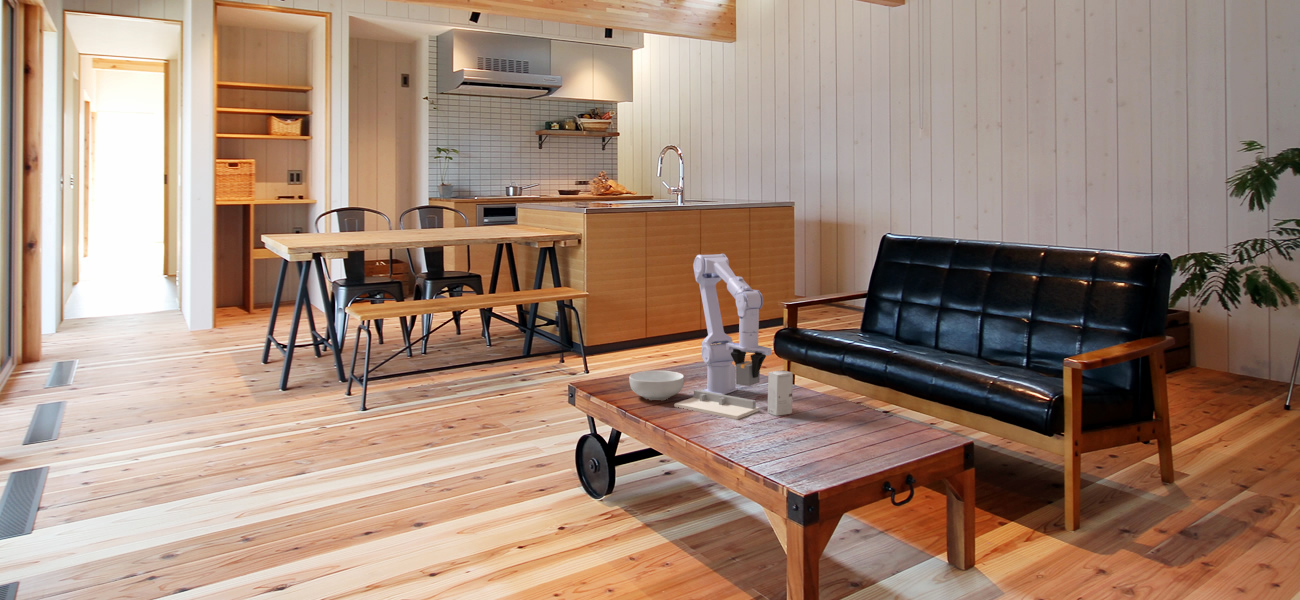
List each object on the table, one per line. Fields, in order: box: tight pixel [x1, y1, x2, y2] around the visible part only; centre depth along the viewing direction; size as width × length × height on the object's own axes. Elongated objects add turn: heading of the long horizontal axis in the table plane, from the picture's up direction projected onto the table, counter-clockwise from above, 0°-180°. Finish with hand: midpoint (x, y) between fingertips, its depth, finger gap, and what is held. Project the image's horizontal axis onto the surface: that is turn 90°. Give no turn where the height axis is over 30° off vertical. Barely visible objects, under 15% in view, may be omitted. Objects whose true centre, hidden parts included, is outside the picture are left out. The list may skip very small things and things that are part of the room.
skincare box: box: [767, 369, 794, 417], centre depth 245 cm, size 6×4×12 cm
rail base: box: [674, 389, 760, 420], centre depth 251 cm, size 12×22×3 cm, turn 52°
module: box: [735, 360, 761, 387], centre depth 254 cm, size 6×4×6 cm
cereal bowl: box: [628, 370, 685, 401], centre depth 264 cm, size 17×17×7 cm
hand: (748, 376), depth 254 cm, fingers closed on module, 4 cm apart
